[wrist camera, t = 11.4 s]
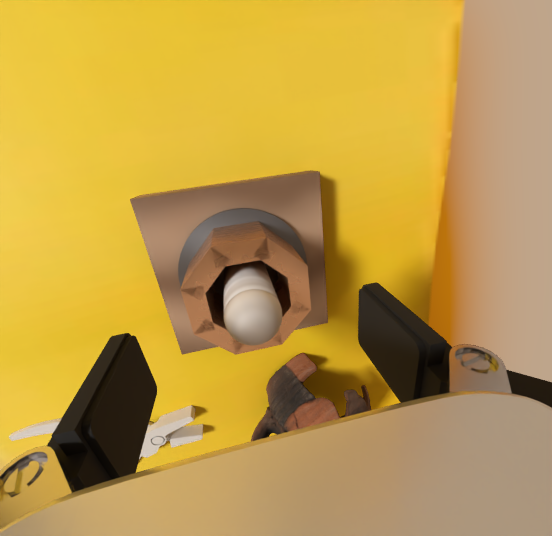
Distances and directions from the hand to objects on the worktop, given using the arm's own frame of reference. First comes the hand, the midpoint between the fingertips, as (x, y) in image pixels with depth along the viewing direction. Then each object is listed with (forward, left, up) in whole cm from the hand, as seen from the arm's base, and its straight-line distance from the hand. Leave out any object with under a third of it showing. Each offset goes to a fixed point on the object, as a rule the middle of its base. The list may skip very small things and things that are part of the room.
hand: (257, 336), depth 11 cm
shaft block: (+1, 0, -11) cm, 11 cm away
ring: (+1, 0, -8) cm, 8 cm away
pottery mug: (+16, +3, -11) cm, 20 cm away
